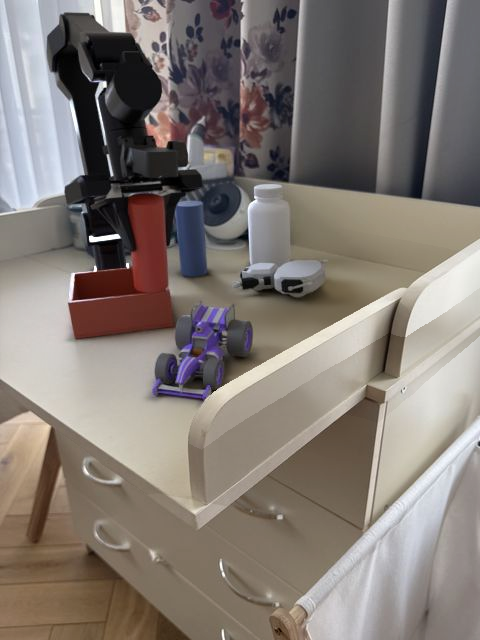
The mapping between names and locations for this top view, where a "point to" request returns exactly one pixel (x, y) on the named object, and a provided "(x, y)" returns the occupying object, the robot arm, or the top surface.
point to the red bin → (114, 304)
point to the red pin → (149, 242)
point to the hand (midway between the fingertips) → (150, 248)
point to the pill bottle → (269, 226)
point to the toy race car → (202, 350)
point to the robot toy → (284, 277)
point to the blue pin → (191, 238)
